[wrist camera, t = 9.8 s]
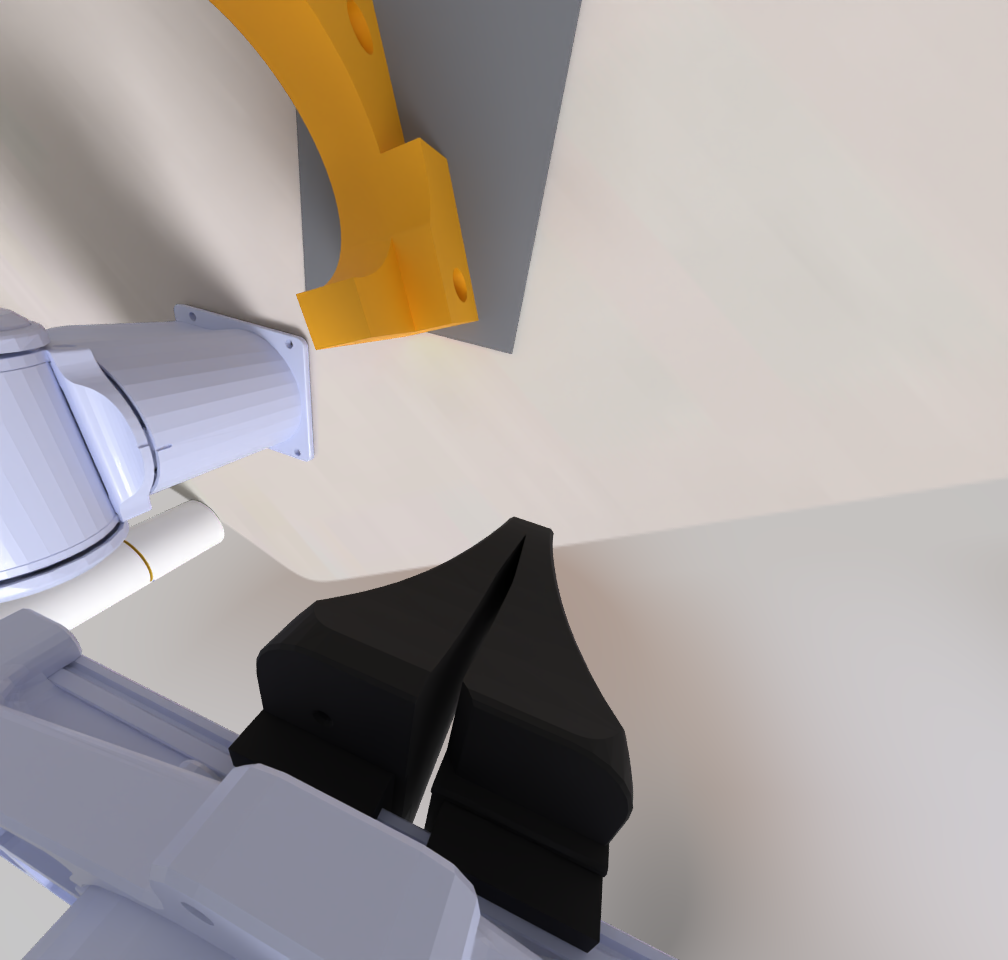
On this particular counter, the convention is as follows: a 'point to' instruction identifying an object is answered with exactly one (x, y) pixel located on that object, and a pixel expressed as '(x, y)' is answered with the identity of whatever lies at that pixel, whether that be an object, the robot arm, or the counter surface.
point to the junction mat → (467, 137)
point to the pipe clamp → (365, 175)
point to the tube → (128, 565)
